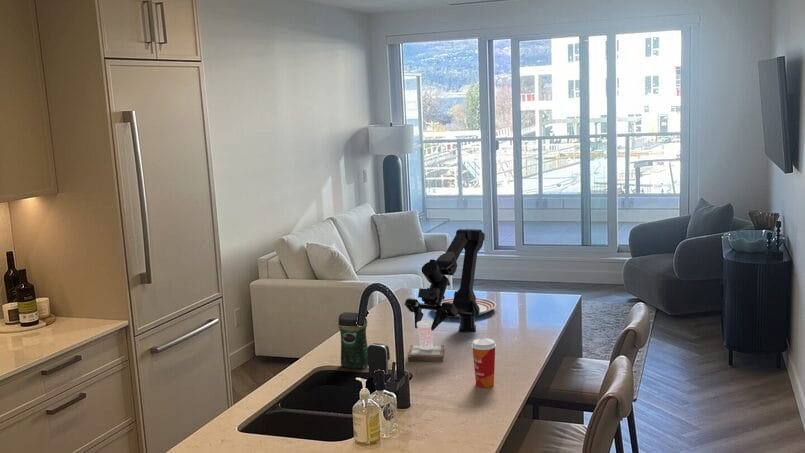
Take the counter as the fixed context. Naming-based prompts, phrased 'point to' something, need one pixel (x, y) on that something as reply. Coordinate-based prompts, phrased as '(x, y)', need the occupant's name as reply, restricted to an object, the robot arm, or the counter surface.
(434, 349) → the plinth
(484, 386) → the paper cup
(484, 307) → the dinner plate
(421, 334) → the beverage cup
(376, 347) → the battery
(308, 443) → the counter surface
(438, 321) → the robot arm
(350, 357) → the coffee jar
